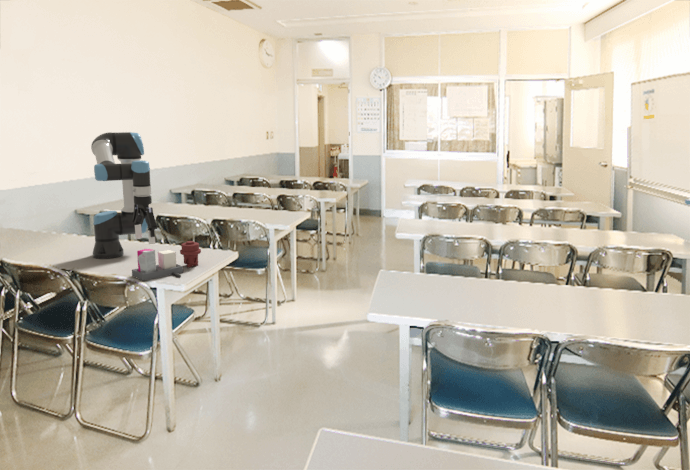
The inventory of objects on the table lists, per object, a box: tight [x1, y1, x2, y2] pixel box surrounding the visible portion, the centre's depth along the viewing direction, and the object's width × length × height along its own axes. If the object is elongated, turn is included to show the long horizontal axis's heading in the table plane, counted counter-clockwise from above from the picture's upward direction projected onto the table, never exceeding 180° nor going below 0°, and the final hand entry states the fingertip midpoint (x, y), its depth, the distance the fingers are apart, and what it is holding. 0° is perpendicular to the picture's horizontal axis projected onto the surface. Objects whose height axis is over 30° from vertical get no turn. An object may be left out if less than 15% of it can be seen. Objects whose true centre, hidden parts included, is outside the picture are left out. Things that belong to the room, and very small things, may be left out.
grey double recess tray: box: [131, 249, 184, 282], centre depth 247 cm, size 18×20×10 cm
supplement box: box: [136, 248, 157, 273], centre depth 246 cm, size 6×6×12 cm
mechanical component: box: [179, 240, 202, 268], centre depth 264 cm, size 12×10×10 cm
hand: (145, 241), depth 244 cm, fingers open, 13 cm apart
